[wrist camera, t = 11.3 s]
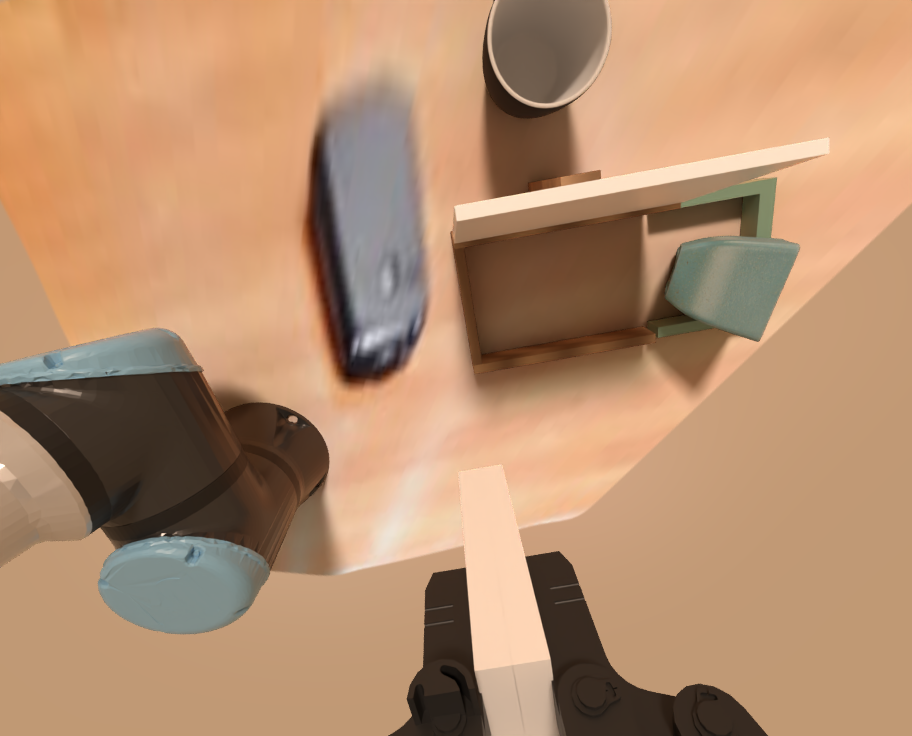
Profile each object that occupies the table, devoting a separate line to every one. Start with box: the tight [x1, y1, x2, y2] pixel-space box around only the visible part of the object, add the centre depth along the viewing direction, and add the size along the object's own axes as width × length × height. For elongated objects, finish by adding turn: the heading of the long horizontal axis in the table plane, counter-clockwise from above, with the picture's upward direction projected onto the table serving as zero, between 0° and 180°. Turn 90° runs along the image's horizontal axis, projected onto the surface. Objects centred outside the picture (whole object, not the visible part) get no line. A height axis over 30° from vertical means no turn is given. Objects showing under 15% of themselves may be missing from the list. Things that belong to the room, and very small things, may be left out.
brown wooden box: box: [451, 203, 681, 374], centre depth 43 cm, size 20×15×8 cm
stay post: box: [528, 170, 601, 192], centre depth 38 cm, size 3×2×12 cm, turn 100°
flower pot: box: [664, 236, 800, 342], centre depth 42 cm, size 9×9×9 cm
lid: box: [453, 137, 829, 244], centre depth 30 cm, size 20×14×1 cm
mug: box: [483, 0, 612, 118], centre depth 34 cm, size 12×9×10 cm
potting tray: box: [647, 177, 777, 338], centre depth 45 cm, size 12×14×2 cm
